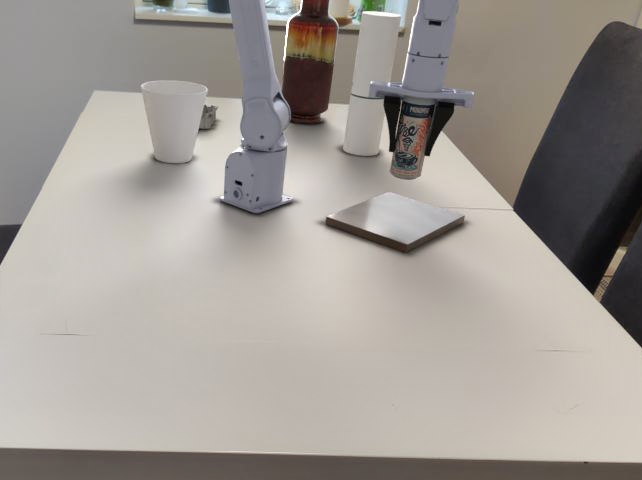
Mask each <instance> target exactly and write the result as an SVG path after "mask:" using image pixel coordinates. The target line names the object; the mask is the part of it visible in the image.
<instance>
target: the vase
mask: <svg viewBox="0 0 642 480" xmlns="http://www.w3.org/2000/svg"><path fill="white" fill-rule="evenodd" d="M330 1H331V0H301V3H300V10H299V11H298V12H297V13H295V14H293V15H292V16H291V17H289V19H288V21H287V23H286V35H285V43H284V44H285V45H284V56H283V66H282V77H281V78H282V79H281V92H282V95H283V98H284V99H285V101H286V102H287V103H288V105H289V108H290V112H291V118H290V123H296V124H304V125H305V124H306V125H315V124H319V123H322V122H323V116H322V114H323V113H325V112H327V111H328V110H329V104H330V99H331V98H330V97H331V90H332V82H333V74H334V68H335V59H336V53H337V52H336V51H337V43H338V34H339V23H338V22H337V20H336V19H335V17H333V16H332V15H331V14H330V13H329V10H330Z"/></svg>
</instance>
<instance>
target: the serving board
mask: <svg viewBox="0 0 642 480" xmlns="http://www.w3.org/2000/svg"><path fill="white" fill-rule="evenodd" d="M465 217H466V214H462V213H458V212H455V211H452V210H449V209H447V208H446V209H445V208H442V207H439V206H436V205H433V204H431V203H427V202H423V201H420V200H417V199H413V198H410V197H408V196H403V195H402V194H401V195H400V194H397V193H395V192H391V191H387V192H384V193H382V194H379V195H376V196H374V197H371V198H368V199H366V200H364V201H361V202H359V203H357V204H354V205H352V206H349V207H346V208H343V209H341V210H340V211H336V212H333V213H331V214H329V215H326V217H325V222H324V224H325V225H328V226H330V227H333V228H336V229H339V230H342V231H345V232H347V233H350V234H353V235H355V236H358V237H362V238H364V239H367V240H369V241H373V242H376V243H378V244H381V245H383V246H386V247H389V248H392V249H394V250H398V251H399V252H404V253H408V252H409V251H411V250H413V249H416V248H417V247H420V246H421V245H423V244H424V243H427V242H429V241H430V240H431V241H432V240H433V239H435V238H436V237H439V236H440V235H442V234H444V233H447V232H448V231H450V230H452V229H453V228H456V227H457V226H459V225H461V224H463V223H464V222H465Z"/></svg>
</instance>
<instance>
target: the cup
mask: <svg viewBox="0 0 642 480" xmlns="http://www.w3.org/2000/svg"><path fill="white" fill-rule="evenodd" d="M139 87H140V91H141V94H142V100H143V104H144V105H143V106H144V109H145V114H146V119H147V125H148V129H149V135H150V140H151V144H152V149H153V155H154V158H155V159H156V161H160V162H163V163H166V164H167V163H168V164H181V163H182V164H183V163H188V162H190V161H191V160H192V159H193V156H194V150H195V147H196V143H197V137H198V133H199V129H200V128H199V125H200V121H201V117H202V112H203V108H204V105H205V104H206V98H207V94H208V92H209V89H208V88H207V86H205V85H203V84H201V83H196V82H192V81H184V80H171V79H167V80H166V79H164V80H163V79H162V80H152V81H151V80H150V81H146V82H143V83H142V84H141V85H140V86H139Z"/></svg>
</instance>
